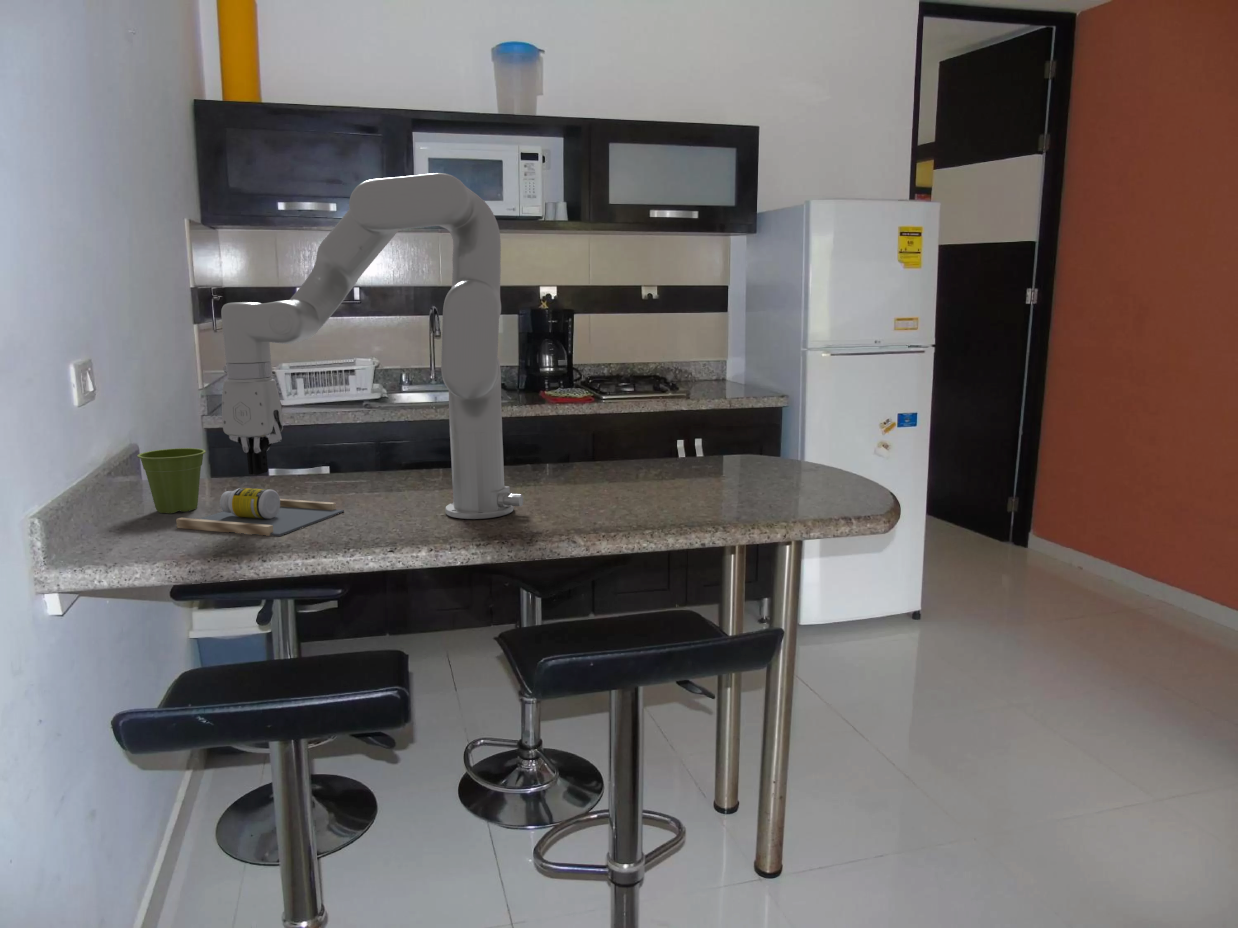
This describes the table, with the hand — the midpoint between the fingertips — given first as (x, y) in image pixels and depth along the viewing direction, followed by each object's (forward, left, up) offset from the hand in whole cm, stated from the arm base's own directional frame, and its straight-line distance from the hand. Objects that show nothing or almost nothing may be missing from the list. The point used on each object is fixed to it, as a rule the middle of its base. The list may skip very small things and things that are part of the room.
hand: (258, 473), depth 168 cm
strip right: (+1, -9, -9) cm, 12 cm away
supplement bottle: (-3, 0, -6) cm, 6 cm away
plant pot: (+22, -2, -9) cm, 24 cm away
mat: (0, 0, -9) cm, 9 cm away
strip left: (+1, +9, -9) cm, 12 cm away
